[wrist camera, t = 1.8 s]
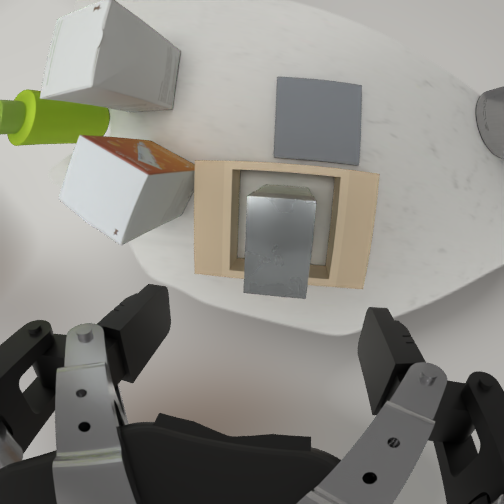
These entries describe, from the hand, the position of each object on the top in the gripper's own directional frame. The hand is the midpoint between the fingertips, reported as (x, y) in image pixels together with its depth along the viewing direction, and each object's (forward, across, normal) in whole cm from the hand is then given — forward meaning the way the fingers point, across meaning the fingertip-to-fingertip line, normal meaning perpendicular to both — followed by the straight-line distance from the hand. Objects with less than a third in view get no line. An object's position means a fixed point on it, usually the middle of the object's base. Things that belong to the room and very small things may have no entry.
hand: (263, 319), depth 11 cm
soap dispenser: (+22, +26, -12) cm, 36 cm away
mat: (+21, -3, -11) cm, 24 cm away
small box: (+22, +14, -4) cm, 26 cm away
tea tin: (+21, 0, 0) cm, 21 cm away
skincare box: (+22, +16, -16) cm, 31 cm away
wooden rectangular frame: (+21, 0, 0) cm, 21 cm away
